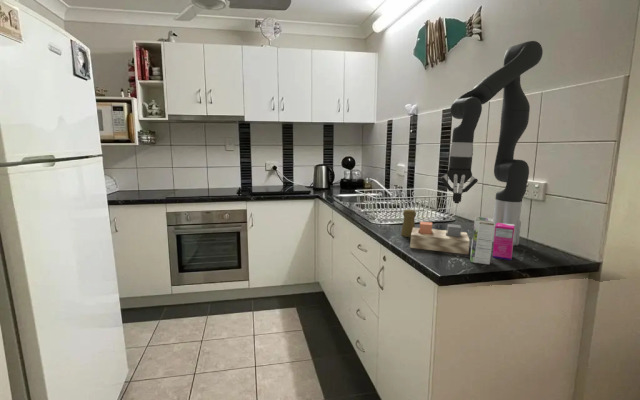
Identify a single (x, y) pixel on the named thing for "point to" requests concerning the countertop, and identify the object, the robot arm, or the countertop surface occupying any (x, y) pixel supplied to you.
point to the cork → (408, 222)
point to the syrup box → (482, 240)
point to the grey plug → (454, 230)
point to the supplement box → (503, 241)
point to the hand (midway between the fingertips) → (456, 203)
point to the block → (440, 241)
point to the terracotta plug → (425, 228)
